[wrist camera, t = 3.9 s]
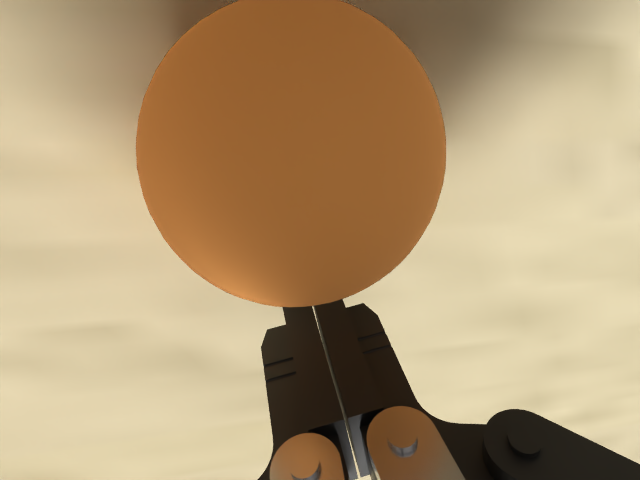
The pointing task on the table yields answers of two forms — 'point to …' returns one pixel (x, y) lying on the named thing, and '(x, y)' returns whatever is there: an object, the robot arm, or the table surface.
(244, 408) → the table surface
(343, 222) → the ball
